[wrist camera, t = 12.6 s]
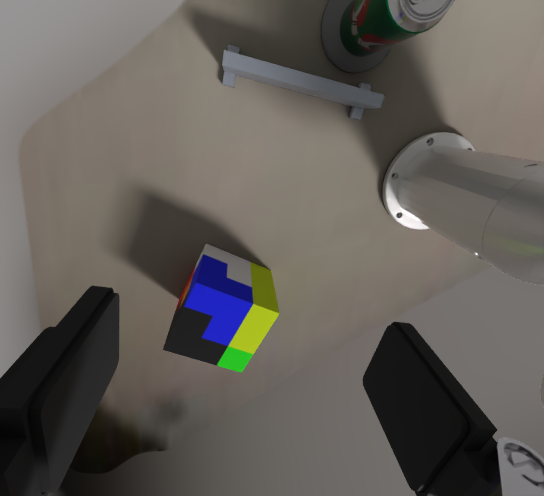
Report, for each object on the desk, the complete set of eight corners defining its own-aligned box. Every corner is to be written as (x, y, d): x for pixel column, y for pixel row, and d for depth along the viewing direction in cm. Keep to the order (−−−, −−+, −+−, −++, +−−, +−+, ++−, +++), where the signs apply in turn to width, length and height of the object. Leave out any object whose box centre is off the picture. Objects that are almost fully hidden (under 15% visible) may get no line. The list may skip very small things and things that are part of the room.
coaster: (407, -7, 29) (410, -10, 29) (378, 81, 32) (381, 80, 32) (334, -33, 28) (336, -36, 27) (312, 61, 31) (313, 60, 30)
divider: (368, 85, 33) (389, 81, 28) (358, 119, 34) (376, 120, 29) (228, 45, 30) (226, 33, 25) (222, 84, 31) (220, 80, 26)
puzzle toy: (206, 243, 39) (195, 282, 30) (270, 270, 42) (279, 313, 33) (179, 299, 42) (162, 349, 33) (240, 320, 45) (241, 372, 36)
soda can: (392, 38, 30) (476, -2, 19) (350, 68, 31) (409, 46, 20) (373, -16, 28) (456, -93, 17) (329, 19, 29) (381, -35, 18)
